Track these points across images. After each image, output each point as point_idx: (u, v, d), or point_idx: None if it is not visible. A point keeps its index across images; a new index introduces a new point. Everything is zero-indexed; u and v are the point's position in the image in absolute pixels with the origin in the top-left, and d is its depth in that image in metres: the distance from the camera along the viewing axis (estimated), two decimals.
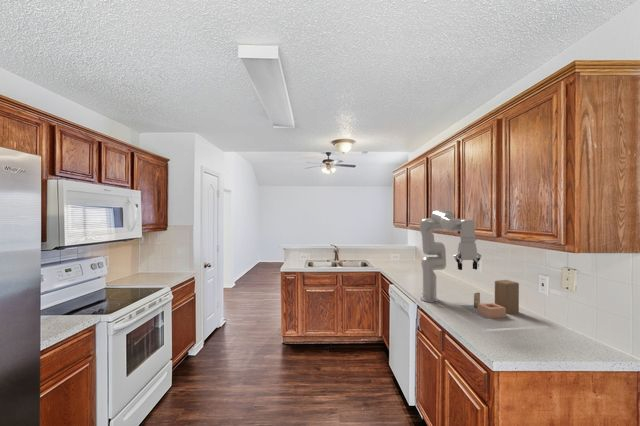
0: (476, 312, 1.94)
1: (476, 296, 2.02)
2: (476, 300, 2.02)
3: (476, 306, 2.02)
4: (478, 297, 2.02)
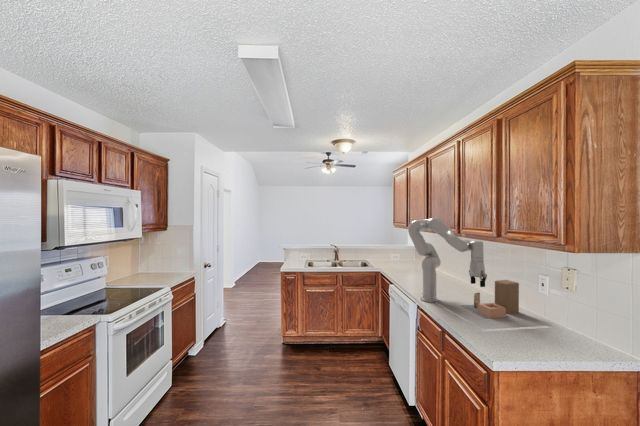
0: (476, 312, 1.94)
1: (476, 296, 2.02)
2: (476, 300, 2.02)
3: (476, 306, 2.02)
4: (478, 297, 2.02)
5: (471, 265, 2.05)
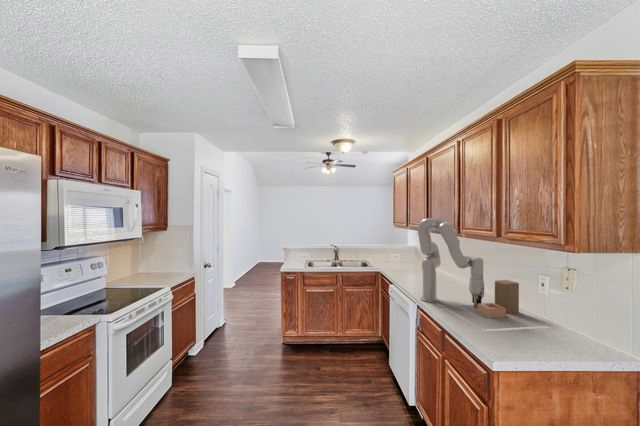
0: (476, 312, 1.94)
1: (476, 296, 2.02)
2: (476, 300, 2.02)
3: (476, 306, 2.02)
4: None
5: (471, 282, 2.06)
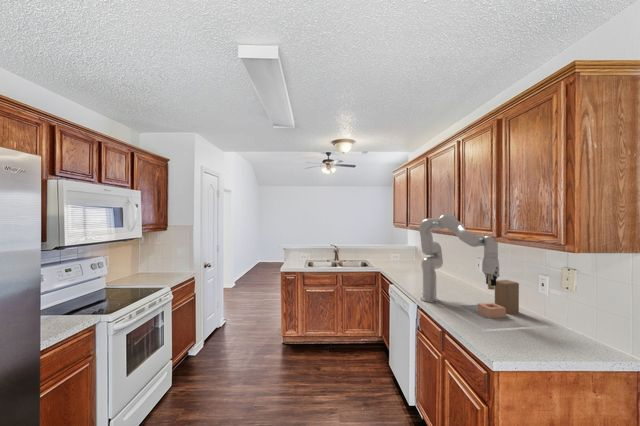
0: (476, 312, 1.94)
1: (490, 276, 1.89)
2: (490, 281, 1.89)
3: (490, 287, 1.89)
4: None
5: (484, 261, 1.92)
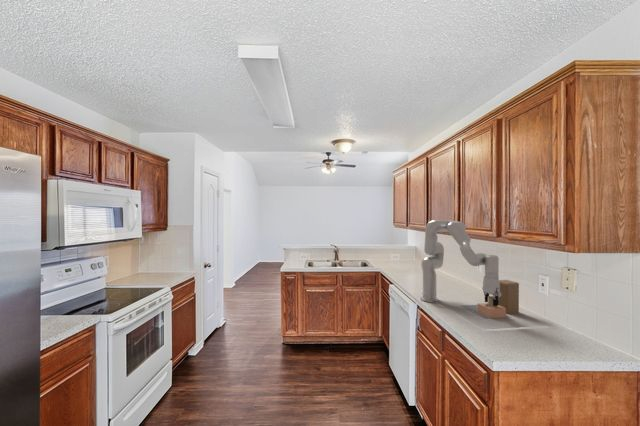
0: (476, 312, 1.94)
1: (490, 300, 1.89)
2: (490, 305, 1.89)
3: None
4: None
5: (485, 281, 1.92)
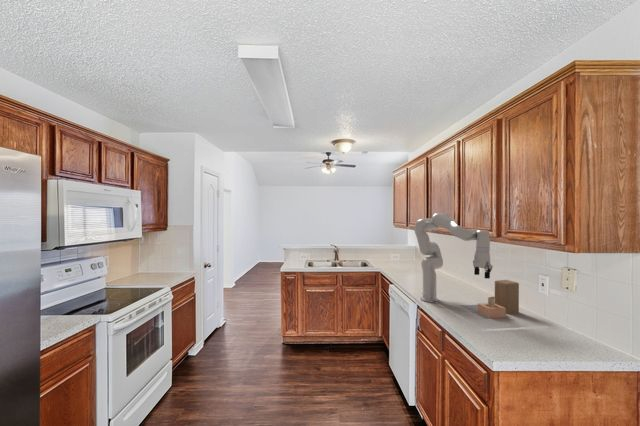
0: (476, 312, 1.94)
1: (490, 300, 1.89)
2: (490, 305, 1.89)
3: None
4: (493, 302, 1.89)
5: (476, 255, 1.95)
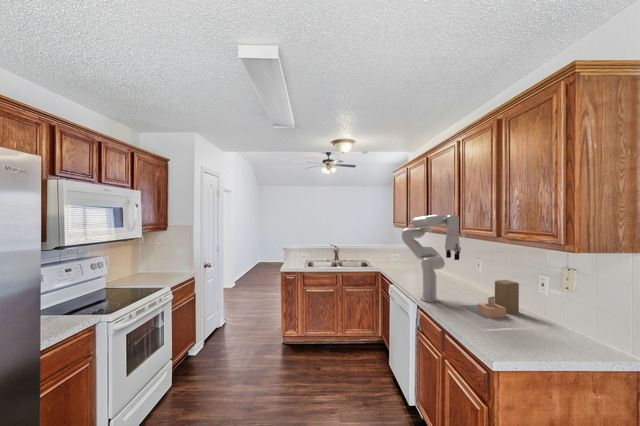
0: (476, 312, 1.94)
1: (490, 300, 1.89)
2: (490, 305, 1.89)
3: None
4: (493, 301, 1.89)
5: (447, 239, 2.07)
